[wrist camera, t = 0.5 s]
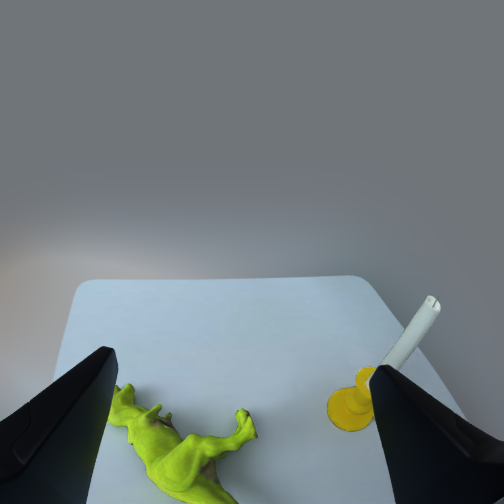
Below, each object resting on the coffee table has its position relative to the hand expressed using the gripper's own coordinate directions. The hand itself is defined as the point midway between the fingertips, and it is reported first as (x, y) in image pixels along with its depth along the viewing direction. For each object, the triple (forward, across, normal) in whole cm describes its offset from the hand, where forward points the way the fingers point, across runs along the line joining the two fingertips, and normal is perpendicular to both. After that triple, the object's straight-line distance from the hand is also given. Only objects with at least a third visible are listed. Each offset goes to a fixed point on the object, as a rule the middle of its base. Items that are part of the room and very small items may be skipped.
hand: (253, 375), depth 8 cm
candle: (+8, -13, +16) cm, 22 cm away
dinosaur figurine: (+2, +2, +16) cm, 17 cm away
